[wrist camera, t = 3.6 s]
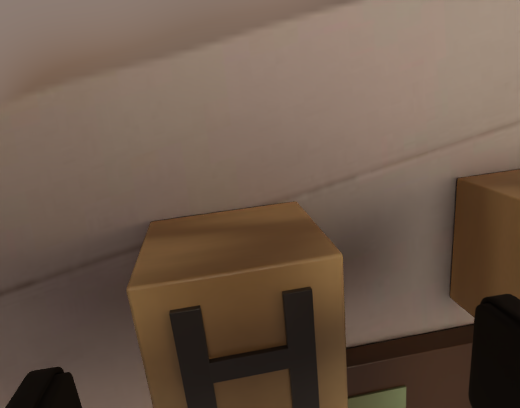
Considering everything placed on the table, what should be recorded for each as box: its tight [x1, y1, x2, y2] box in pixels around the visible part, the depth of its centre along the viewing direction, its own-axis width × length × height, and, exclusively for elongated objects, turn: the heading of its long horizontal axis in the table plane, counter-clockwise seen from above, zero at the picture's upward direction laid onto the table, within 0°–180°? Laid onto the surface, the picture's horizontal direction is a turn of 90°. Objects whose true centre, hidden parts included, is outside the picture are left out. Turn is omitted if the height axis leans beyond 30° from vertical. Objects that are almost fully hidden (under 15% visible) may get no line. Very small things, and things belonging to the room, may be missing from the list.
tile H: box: [126, 201, 348, 408], centre depth 11 cm, size 5×5×5 cm
